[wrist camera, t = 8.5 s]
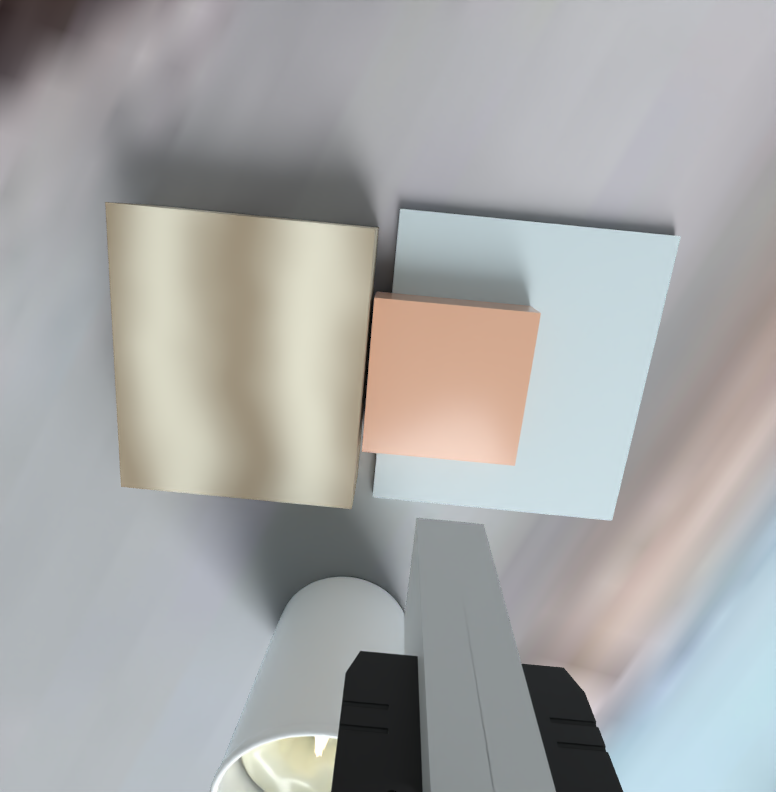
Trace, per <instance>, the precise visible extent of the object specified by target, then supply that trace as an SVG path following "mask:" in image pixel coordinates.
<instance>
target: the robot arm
mask: <svg viewBox="0 0 776 792" xmlns="http://www.w3.org/2000/svg"><path fill="white" fill-rule="evenodd" d="M331 792H623V790H622V787H621V785H620V782H619V780H618V777H617V775H616V772H615V769H614V767H613V764H612V762H611V759H610V756H609V754H608V752H606V750H605V744H604V741H603V738H602V736H601V733H600V731H599V728H598V727H596V720H595V718H594V715H593V713H592V710H591V707H590V705H589V702H588V700H587V697H586V695H585V693H584V691H583V690H582V689H581V688H580V687H579V685H578V684H577V683H576V682H575V681H574V679H573V678H572V677H571V676H570V675H569V674H568V672H567V671H566V670H565V669H564V668H561V667H550V666H539V665H529V664H521V661H520V657H519V653H518V650H517V646H516V642H515V638H514V635H513V631H512V627H511V624H510V620H509V616H508V612H507V609H506V605H505V601H504V598H503V594H502V590H501V587H500V583H499V579H498V575H497V572H496V568H495V564H494V561H493V557H492V553H491V550H490V546H489V542H488V538H487V535H486V531H485V527H484V524H476V523H466V522H455V521H445V520H434V519H423V518H417V519H416V527H415V535H414V544H413V552H412V560H411V568H410V576H409V584H408V592H407V601H406V609H405V617H404V655H400V654H389V653H379V652H368V651H360V652H359V654H358V655H357V657H356V658H355V660H354V661H353V662H352V664H351V665H350V667H349V668H348V670H347V671H346V673H345V681H344V690H343V698H342V706H341V714H340V722H339V730H338V738H337V747H336V755H335V763H334V771H333V779H332V787H331Z"/></svg>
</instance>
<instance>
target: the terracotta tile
mask: <svg viewBox="0 0 776 792" xmlns="http://www.w3.org/2000/svg"><path fill="white" fill-rule="evenodd" d="M540 316H541V313H540V312H539V311H537V310H536V309H534V308H533V307H531V306H528V305H518V304H507V303H496V302H485V301H474V300H463V299H453V298H442V297H431V296H420V295H409V294H398V293H388V292H376V294H375V297H374V307H373V319H372V332H371V344H370V357H369V369H368V382H367V394H366V407H365V419H364V432H363V444H362V452H370V453H381V454H392V455H403V456H414V457H425V458H435V459H446V460H457V461H468V462H479V463H490V464H501V465H511V466H515V463H516V457H517V451H518V445H519V439H520V433H521V427H522V422H523V416H524V410H525V404H526V398H527V392H528V386H529V381H530V375H531V369H532V363H533V357H534V351H535V345H536V340H537V334H538V328H539V322H540Z"/></svg>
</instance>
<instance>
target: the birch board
mask: <svg viewBox="0 0 776 792" xmlns="http://www.w3.org/2000/svg"><path fill="white" fill-rule="evenodd" d="M105 205H106V223H107V241H108V259H109V278H110V296H111V314H112V332H113V350H114V368H115V386H116V404H117V422H118V440H119V458H120V476H121V487H129V488H139V489H150V490H160V491H170V492H180V493H191V494H201V495H211V496H222V497H232V498H242V499H252V500H263V501H273V502H283V503H294V504H304V505H314V506H324V507H335V508H345V509H352V504H353V499H354V493H355V488H356V482H357V476H358V466H359V454H360V442H361V430H362V419H363V407H364V395H365V383H366V372H367V360H368V348H369V336H370V325H371V313H372V301H373V289H374V278H375V266H376V254H377V242H378V231H379V227H369V226H359V225H348V224H338V223H328V222H318V221H308V220H298V219H287V218H277V217H267V216H257V215H247V214H237V213H226V212H216V211H206V210H196V209H186V208H176V207H165V206H155V205H145V204H127V203H109V202H105Z"/></svg>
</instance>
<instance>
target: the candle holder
mask: <svg viewBox="0 0 776 792" xmlns="http://www.w3.org/2000/svg"><path fill="white" fill-rule="evenodd" d="M404 617H405V615H404V612H403V610H402V609H401V607H400V605H399V604H398V603H397V601H396V600H395V599H394V598H393V597H392V596H391V595H390V594H389V593H388V592H386V591H385V590H384V589H382V588H381V587H379V586H377V585H375V584H373V583H371V582H369V581H366V580H363V579H359V578H353V577H330V578H325V579H321V580H318V581H315V582H313V583H311V584H309V585H307V586H305V587H304V588H302V589H301V590H300V591H298V592H297V593H296V594H295V595H294V596H293V597H292V598H291V600H290V601H289V602H288V604H287V605H286V607H285V609H284V611H283V613H282V615H281V617H280V619H279V622H278V624H277V626H276V629H275V631H274V634H273V636H272V639H271V641H270V643H269V646H268V648H267V651H266V653H265V656H264V658H263V661H262V663H261V666H260V668H259V671H258V673H257V676H256V678H255V681H254V683H253V686H252V688H251V691H250V693H249V696H248V698H247V701H246V703H245V706H244V708H243V711H242V713H241V716H240V718H239V721H238V723H237V726H236V728H235V731H234V733H233V736H232V738H231V741H230V743H229V746H228V748H227V751H226V753H225V756H224V758H223V760H222V763H221V765H220V767H219V768H218V770H217V772H216V774H215V776H214V779H213V781H212V784H211V787H210V792H331V787H332V779H333V771H334V763H335V755H336V747H337V738H338V730H339V722H340V714H341V706H342V698H343V690H344V681H345V673H346V671H347V670H348V668H349V667H350V665H351V664H352V662H353V661H354V660H355V658H356V657H357V655H358V654H359V652H360V651H368V652H379V653H389V654H400V655H404Z"/></svg>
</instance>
